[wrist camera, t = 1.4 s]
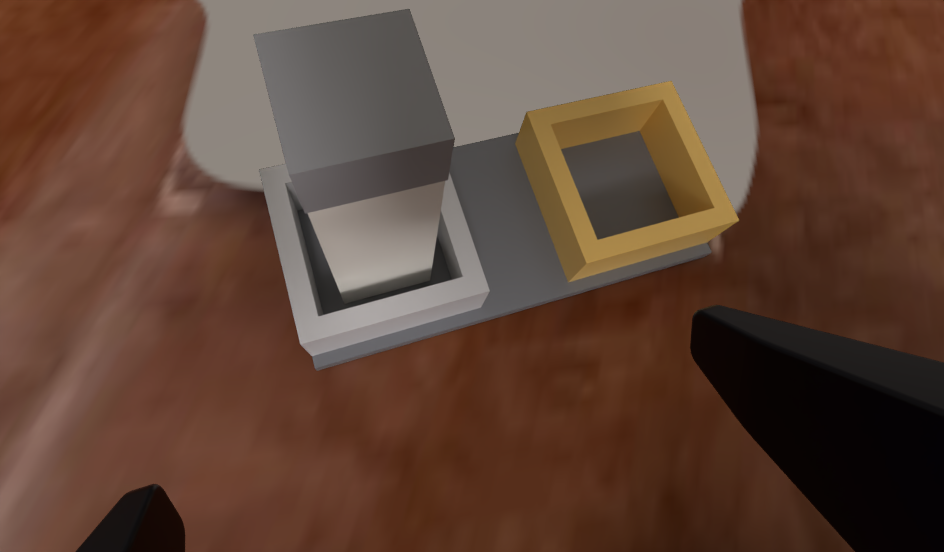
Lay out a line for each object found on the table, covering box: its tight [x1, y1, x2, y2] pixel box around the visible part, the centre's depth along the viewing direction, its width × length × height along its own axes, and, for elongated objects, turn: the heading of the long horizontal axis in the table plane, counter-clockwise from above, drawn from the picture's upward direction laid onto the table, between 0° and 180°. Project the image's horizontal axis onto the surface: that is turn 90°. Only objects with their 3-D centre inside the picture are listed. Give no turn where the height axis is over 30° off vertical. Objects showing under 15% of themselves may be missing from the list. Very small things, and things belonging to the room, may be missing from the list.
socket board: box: [259, 81, 739, 371], centre depth 23 cm, size 18×8×3 cm, turn 108°
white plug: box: [254, 9, 455, 304], centre depth 18 cm, size 4×4×11 cm
